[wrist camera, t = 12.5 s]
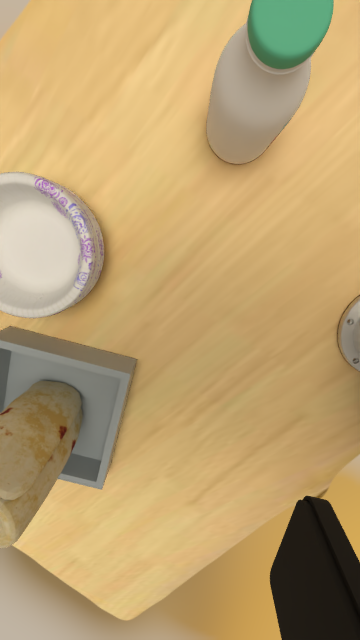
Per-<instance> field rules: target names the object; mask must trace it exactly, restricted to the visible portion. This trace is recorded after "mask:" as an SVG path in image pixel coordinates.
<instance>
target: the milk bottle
mask: <svg viewBox="0 0 360 640" xmlns="http://www.w3.org/2000/svg"><path fill="white" fill-rule="evenodd" d="M332 14H333V0H252V3H251V6H250V11H249V15H248V18H247V22H246V24H244V25H243V26H242V27H241V28H240V29H239V30H238V31H237V32H236V33H235V34H234V35H233V36H232V37H231V39H230V40H229V41H228V43H227V44H226V46H225V48H224V50H223V51H222V54H221V56H220V58H219V61H218V63H217V66H216V70H215V74H214V78H213V83H212V89H211V95H210V102H209V109H208V116H207V126H206V131H207V138H208V141H209V144H210V146H211V148H212V150H213V151H214V152H215V154H216V155H217V156H218V157H220V158H221V159H222V160H224V161H226V162H229V163H233V164H244V163H248V162H250V161H252V160H254V159H256V158H257V157H259V156H260V155H261V154H262V153H263V152H264V151H265V150H266V149H267V148H268V147H269V145H270V144H271V143H272V142H273V141H274V139H275V138H276V137H277V136H278V135H279V133H280V132H281V131H282V130H283V129H284V127H285V126H286V125H287V124H288V122H289V121H290V120H291V118H292V117H293V115H294V114H295V113H296V111H297V109H298V108H299V106H300V104H301V102H302V100H303V98H304V96H305V93H306V90H307V87H308V83H309V79H310V71H311V56H312V55H313V53H314V52H315V50H316V49H317V47H318V46H319V45H320V43H321V41H322V40H323V38H324V36H325V34H326V33H327V30H328V28H329V25H330V22H331V18H332Z"/></svg>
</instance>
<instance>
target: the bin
mask: <svg viewBox="0 0 360 640" xmlns="http://www.w3.org/2000/svg"><path fill="white" fill-rule="evenodd" d="M136 362H137V359H134V358H130V357H127V356H123V355H119V354H115V353H111V352H107V351H104V350H100V349H96V348H92V347H88V346H85V345H81V344H77V343H73V342H69V341H66V340H62V339H58V338H54V337H50V336H47V335H43V334H39V333H35V332H31V331H27V330H24V329H20V328H16V327H12V326H10V327H7V328H5V329H3V330H1V331H0V413H1V412H2V411H3V410H4V409H5V408H6V407H7V406H8V405H9V404H10V403H11V402H13V401H14V400H15V399H16V398H17V397H19V396H20V395H21V394H23V393H24V392H25V391H27V390H28V389H29V388H30V387H31V386H32V385H33V384H34V383H36V382H39V381H54V382H62V383H66V384H68V385H70V386H72V387H73V388H74V389H75V390H76V391H77V392H78V393H79V394H80V398H81V401H82V405H81V409H82V414H83V418H82V424H81V428H80V432H79V436H78V439H77V442H76V444H75V446H74V448H73V450H72V453H71V455H70V457H69V459H68V461H67V462H66V464H65V466H64V468H63V470H62V472H61V473H60V475H59V477H58V479H61V480H65V481H69V482H73V483H77V484H81V485H85V486H89V487H93V488H97V489H101V490H102V488H103V485H104V482H105V480H106V477H107V474H108V471H109V468H110V465H111V462H112V458H113V454H114V450H115V446H116V442H117V438H118V434H119V430H120V426H121V422H122V418H123V414H124V410H125V406H126V402H127V398H128V394H129V390H130V386H131V382H132V378H133V374H134V370H135V366H136Z"/></svg>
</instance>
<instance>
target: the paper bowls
mask: <svg viewBox="0 0 360 640" xmlns="http://www.w3.org/2000/svg"><path fill="white" fill-rule="evenodd" d="M103 261H104V243H103V237H102V233H101V230H100V227H99V224H98V222H97V220H96V219H95V217H94V215H93V213H92V212H91V210H90V209H89V208H88V206H87V205H86V204H85V203H84V202H83V201H82V200H81V199H80V198H79V197H78V196H77V195H76V194H74V193H73V192H72V191H70V190H69V189H67V188H65V187H64V186H61V185H59V184H57V183H55V182H52V181H50V180H47V179H45V178H43V177H40V176H37V175H33V174H30V173H24V172H7V173H1V174H0V310H1V311H3V312H5V313H8V314H10V315H13V316H17V317H23V318H41V317H47V316H51V315H54V314H57V313H59V312H61V311H63V310H65V309H67V308H69V307H71V306H73V305H75V304H76V303H78V302H79V301H80V300H82V299H83V298H84V297H85V296H86V295H87V294H88V293H89V292H90V291H91V290H92V288H93V287H94V286H95V284H96V282H97V281H98V279H99V276H100V274H101V271H102V267H103Z"/></svg>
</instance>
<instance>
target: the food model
mask: <svg viewBox="0 0 360 640" xmlns="http://www.w3.org/2000/svg"><path fill="white" fill-rule="evenodd" d="M81 405H82V401H81V398H80V394H79V393H78V392H77V391H76V390H75V389H74V388H73V387H72V386H70V385H68V384H66V383H62V382H54V381H39V382H36V383H34V384H33V385H32V386H31V387H30V388H29V389H28V390H27V391H25V392H24V393H23V394H21V395H20V396H19V397H17V398H16V399H15V400H14V401H13V402H11V403H10V404H9V405H8V406H7V407H6V408H5V409H4V410H3V411H2V412H1V413H0V548H6V547H9V546H11V545H12V544H14V543H15V542H16V541H17V540H18V539H19V537H20V536H21V535H22V533H23V532H24V530H25V529H26V527H27V526H28V524H29V523H30V522H31V520H32V519H33V517H34V515H35V514H36V512H37V511H38V509H39V508H40V506H41V505H42V503H43V502H44V500H45V499H46V497H47V495H48V494H49V492H50V490H51V489H52V487H53V485H54V484H55V482H56V480H57V479H58V477H59V475H60V473H61V472H62V470H63V468H64V466H65V464H66V462H67V461H68V459H69V457H70V455H71V453H72V450H73V448H74V446H75V444H76V442H77V439H78V436H79V432H80V428H81V424H82V418H83V414H82V409H81Z"/></svg>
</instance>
